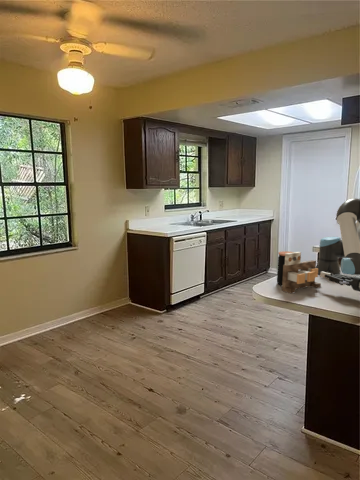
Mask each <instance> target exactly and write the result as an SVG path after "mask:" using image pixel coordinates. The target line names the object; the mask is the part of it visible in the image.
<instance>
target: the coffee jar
mask: <svg viewBox="0 0 360 480" xmlns="http://www.w3.org/2000/svg"><path fill="white" fill-rule="evenodd" d="M293 252H294V251H284V250H283V251H279V252H278V254H277V255H278V257H277V273H276V274H277V275H276V282H277V283H278V285H279V286H282V281H283V265H285V253H293ZM290 272H291V271H290Z"/></svg>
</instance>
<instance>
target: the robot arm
mask: <svg viewBox="0 0 360 480" xmlns="http://www.w3.org/2000/svg"><path fill="white" fill-rule="evenodd" d="M335 215H336V216H335V217H336V219H335V220H336V222H337V224H338V225H339V229H340V235H341V237H339V236H327V237H322V238H321V239H320V240H319V245H318V246H319V248H318V249H319V251H318V261H317V262H316V268H318V275H319V276H320V278H324V279H328V281H329V282H333V283H335V284H338V285H340V286H344V285H346V286H349V287H350V286H351V288H352V290H353V291H356V292H360V198H357V197H356V198H355V197H354V198H350V199H346V201H344V202H343V203H342V204H341V205H340V206H339V207H338V209H337V211H336V213H335ZM339 259H341V261H340V264H339ZM341 273H342V274H341ZM353 275H354V276H353Z"/></svg>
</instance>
